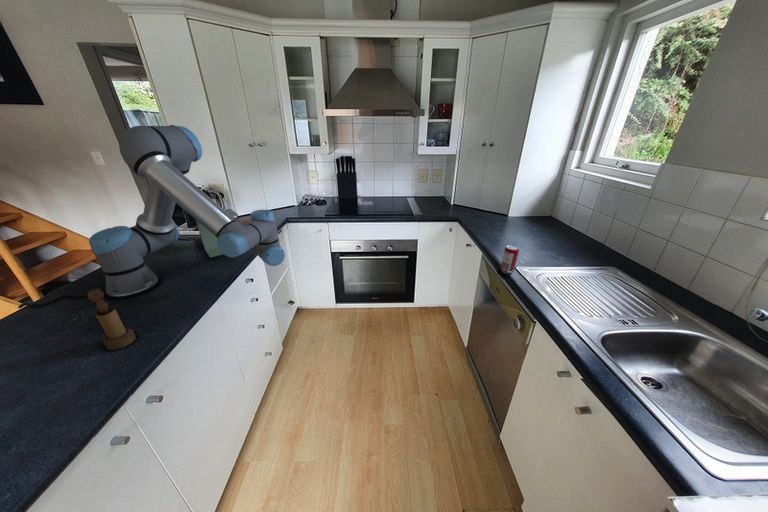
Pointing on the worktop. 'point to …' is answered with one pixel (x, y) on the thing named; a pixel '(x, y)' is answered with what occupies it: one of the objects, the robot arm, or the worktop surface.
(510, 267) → the soda can
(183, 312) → the worktop surface
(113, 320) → the brown tall wooden piece
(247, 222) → the reddish-brown upright block
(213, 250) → the pale green box
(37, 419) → the worktop surface
